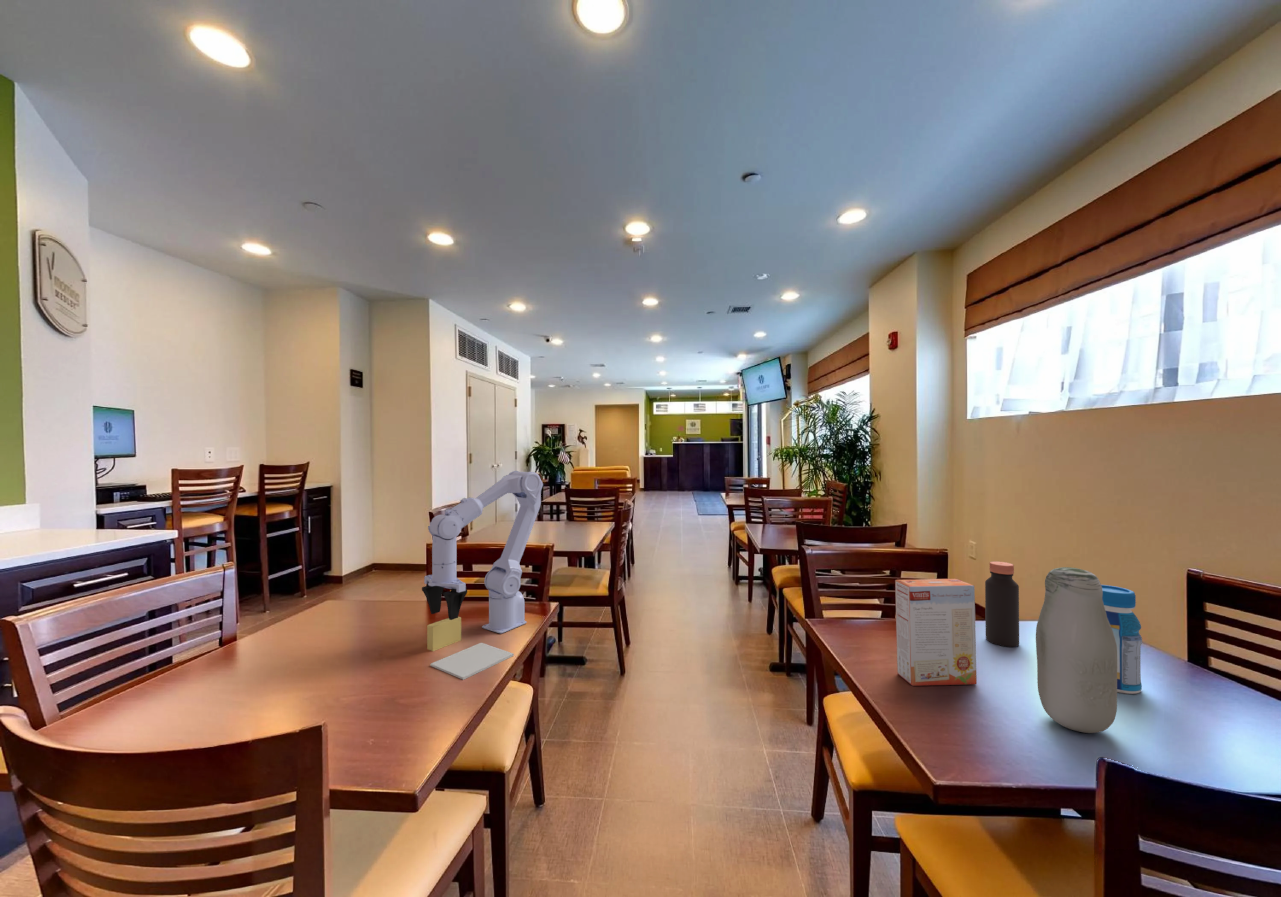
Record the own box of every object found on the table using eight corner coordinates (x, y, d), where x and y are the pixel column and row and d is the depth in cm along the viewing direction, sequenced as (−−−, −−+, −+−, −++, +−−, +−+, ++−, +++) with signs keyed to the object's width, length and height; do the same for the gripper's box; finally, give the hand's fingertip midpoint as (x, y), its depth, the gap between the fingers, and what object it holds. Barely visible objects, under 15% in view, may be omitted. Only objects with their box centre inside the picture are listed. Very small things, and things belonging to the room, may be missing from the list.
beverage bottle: (1150, 699, 91) (1149, 597, 91) (1091, 688, 95) (1090, 590, 95) (1133, 681, 98) (1132, 586, 98) (1079, 671, 102) (1078, 581, 103)
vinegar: (1026, 647, 115) (1025, 566, 115) (998, 647, 115) (997, 566, 115) (1005, 636, 122) (1004, 560, 122) (979, 636, 122) (978, 560, 122)
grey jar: (1074, 710, 87) (1072, 561, 87) (1134, 744, 77) (1132, 575, 77) (1023, 711, 87) (1021, 561, 87) (1076, 746, 77) (1074, 576, 77)
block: (455, 638, 122) (455, 615, 122) (461, 640, 121) (461, 617, 121) (427, 649, 116) (427, 625, 116) (432, 651, 114) (432, 627, 114)
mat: (481, 644, 118) (481, 642, 118) (513, 655, 112) (513, 653, 112) (430, 665, 106) (430, 663, 106) (463, 679, 100) (463, 677, 100)
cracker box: (957, 672, 102) (956, 577, 103) (978, 686, 96) (977, 585, 97) (894, 673, 102) (894, 577, 102) (911, 686, 96) (910, 585, 96)
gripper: (413, 561, 119) (413, 614, 119) (447, 569, 111) (447, 626, 111) (438, 556, 125) (438, 607, 125) (472, 563, 117) (472, 617, 117)
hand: (444, 615), depth 118 cm, fingers open, 7 cm apart
